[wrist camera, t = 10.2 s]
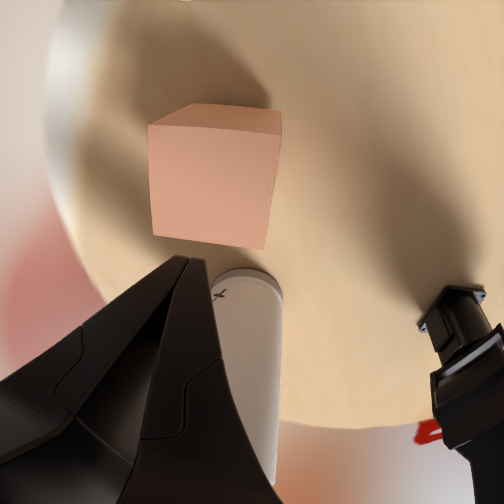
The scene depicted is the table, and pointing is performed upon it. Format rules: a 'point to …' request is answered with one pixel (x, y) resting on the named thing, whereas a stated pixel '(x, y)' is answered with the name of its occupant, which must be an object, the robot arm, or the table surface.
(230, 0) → the table surface
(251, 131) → the pink foam cube
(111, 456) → the robot arm
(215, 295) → the travel mug
